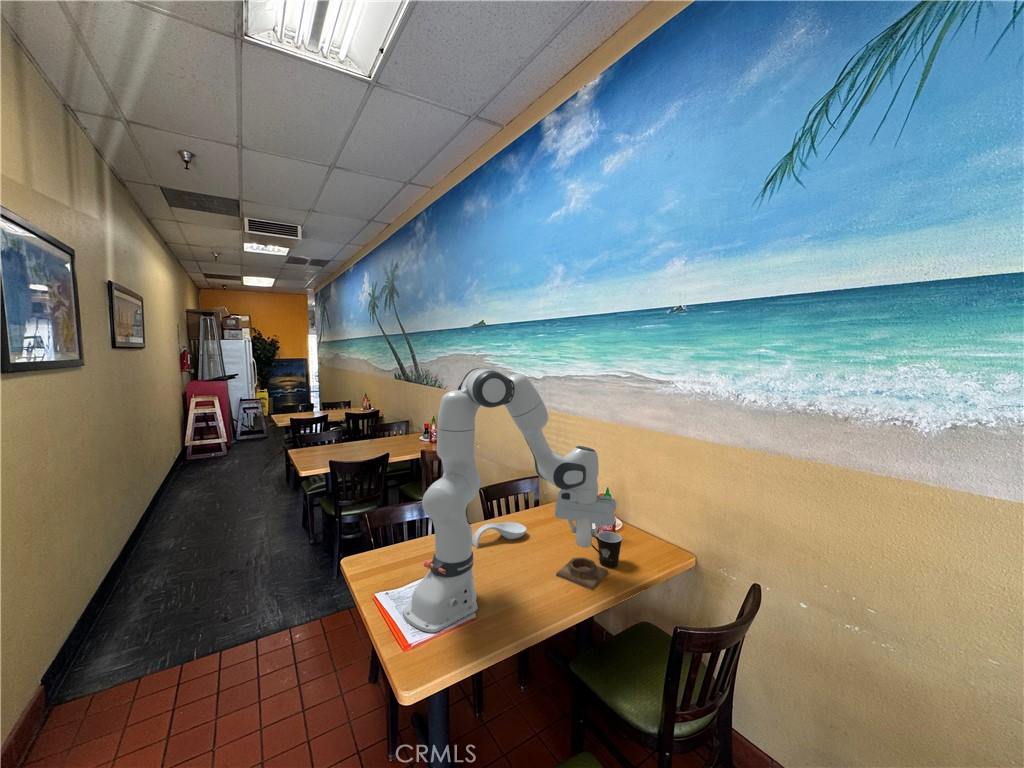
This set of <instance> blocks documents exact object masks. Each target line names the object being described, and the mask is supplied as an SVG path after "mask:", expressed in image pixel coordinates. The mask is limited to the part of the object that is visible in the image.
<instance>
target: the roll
mask: <svg viewBox="0 0 1024 768" xmlns="http://www.w3.org/2000/svg"><path fill="white" fill-rule="evenodd" d="M575 526H576V533H575V545H577V546H578V547H580V548H589V547H592V545H593V537H592V529H593V523H590V522H589V518H586V517H579V516H578V520H577V521H575Z"/></svg>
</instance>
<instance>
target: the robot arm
mask: <svg viewBox="0 0 1024 768" xmlns="http://www.w3.org/2000/svg"><path fill="white" fill-rule="evenodd" d="M503 405H504V406H505V408H506V410H507V411H508V414H509V415H510V417H511V419H512V420H513V422H514V423H515V425H516V427H517V429H518V430H519V431H520V432H521V434H522V435H523V438H524V439H525V441H526V444H527V445H528V448H529V450H530V452H531V454H532V457H533V461H534V469H535V472H536V474H537V475H538V477H539V478H541V479H542V480H544V481H547V482H548V483H550V484H551V485H552V486H555V487H556V488H558V489H560V490H559V492H558V494H557V497H558V498H557V499H556V502H555V505H554V513H553V514H554V517H555V518H556V519H561V520H567V521H568V523H567V524H568V525H569V527H570V528H571V533H574V534H576V525H575V524H574V521H575V522H576V521H577V520H578V516H579V517H586V518H589V522H590V523H592V524H594V526H595V528H592V536H596V537H597V534H598V533H597V531H598V530H599V528H600V527H601V525H603V526H610V527H613V525H615V523H616V514H615V510H616V509H617V502H616V500H615V499H614V498H612V496H605V495H599V483H598V476H599V472H600V469H599V456H598V453H597V450H595V449H593V448H590V447H589V446H588V447H587V446H584V445H583V446H582V445H577V446H574V448H573V449H572V450H571V451H570V452H569V453H568V454H566V455H564V456H561V455H560V454H558V453H557V452H555V451H553V450H552V449H551V447H550V445H549V443H548V441H547V439H546V437H545V435H544V433H543V429H544V428H545V426H546V425H547V424H548V420H549V414H548V411H547V410H548V409H547V407H546V405H545V402H544V401H543V399H542V398H541V395H540V394H539V392H538V390H537V389H536V388H535V385H533V384H532V382H531V381H530V380H529V378H527V376H526V375H524V374H521V373H514V374H512V375H511V374H510V375H509V376H505V375H504V374H502V373H501V372H498V371H495V370H493V369H491V368H487V367H477V368H472V369H471V370H469V371H468V372H467V373H466V374H465V375H464V378H463V379H462V381H461V382H460V384H459V386H458V387H457V389H455V390H450V391H448V392H446V393H445V394H444V395H443V396H442V397H441V399H440V404H439V410H438V415H437V426H436V429H437V430H436V431H437V432H436V455H437V457H438V458H439V459H440V460H441V464H442V469H443V474H442V477H440V478H439V479H437V480H436V481H434V482H433V483H432V484H430V486H429V487H428V488H427V490H426V491H425V492H424V493H423V497H422V500H421V501H422V504H421V505H422V509H423V511H424V513H425V514H426V515H427V516H428V517H429V518H430V519H431V520H432V521H431V522H432V524H433V529H434V548H435V550H434V553H433V557H432V560H431V561H430V560H429V559H426V560H424V562H423V567H425V568H427V569H428V570H429V571H428V572H427V573H426V574H425V575H424V577H423V578H422V580H421V581H420V582H419V584H418V585H417V586H416V587H415V589H414V590H413V592H412V596H411V602H409V603H408V604H407V606H405V607H404V608H403V609H402V616H403V617H404V619H405V621H406V622H407V623H409V624H410V625H412V627H415V628H417V629H418V630H420V631H422V632H423V631H424V632H427V633H437V632H439V631H442V630H443V629H444V628H446V627H449V626H450V625H452V624H454V623H456V622H458V621H459V620H461V618H462V619H464V618H465V617H467V616H469V615H471V614H473V613H475V612H476V611H478V603H477V599H478V597H477V592H476V588H475V580H474V574H473V573H474V572H473V567H474V560H475V559H474V552H473V549H472V548H473V544H472V538H473V529H472V525H471V524H470V523H469V522H468V519H467V506H468V504H469V503H471V501H473V500H474V499H475V498H476V496H477V495H478V493H479V491H480V488H481V487H482V477H481V474H480V473H479V472H478V469H477V464H476V458H475V437H476V436H475V433H476V432H475V431H476V430H475V429H476V415H477V412H478V410H479V409H480V407H481V406H482V407H484V408H489V409H490V408H496V407H500V406H503ZM468 614H469V615H468ZM463 617H464V618H463ZM457 620H458V621H457Z"/></svg>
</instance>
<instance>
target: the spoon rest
mask: <svg viewBox="0 0 1024 768" xmlns="http://www.w3.org/2000/svg"><path fill="white" fill-rule="evenodd" d="M488 530H495V531H496V532H498V533H499V534H500V535H501V536H502V537H504V539H507V540H510V541H511V540H513V541H514V540H517V539H519V538H521V537H523V536H524V535H525V534H526V533H527V530H528V529H527V526H525V525H524V524H522V523H518V522H511V521H510V522H509V521H508V522H507V521H506V522H495V523H494V522H491V523H486V524H484V525H481V526H480V527H479V528H478V529H477V530H476V531H475V532H474V533H473V535H472V546H474V547H475V548H476V549H478V548H479V543H480V538H481V537H482V534H484V533H485V532H486V531H488Z"/></svg>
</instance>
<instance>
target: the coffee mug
mask: <svg viewBox="0 0 1024 768" xmlns="http://www.w3.org/2000/svg"><path fill="white" fill-rule="evenodd" d="M592 538H595V539H596V541H597V546H598V548H596V547H595V545H594V544H592V546H591V547H592V548H593V550H595V551H596V552H597V553H598V558H599V564H600V565H601V566H602V567H603V568H605V569H616V568H617V567H618V566H619V558H620V553H621V546H622V541H623V536H621V535H620V534H619V533H616V532H613V531H605V530H604V531H600V532H598V533H597V534H596V536H592Z"/></svg>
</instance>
